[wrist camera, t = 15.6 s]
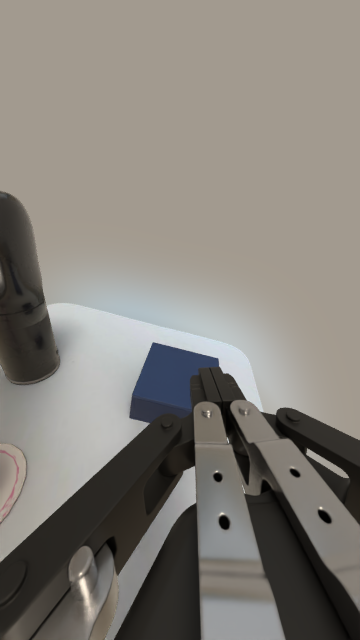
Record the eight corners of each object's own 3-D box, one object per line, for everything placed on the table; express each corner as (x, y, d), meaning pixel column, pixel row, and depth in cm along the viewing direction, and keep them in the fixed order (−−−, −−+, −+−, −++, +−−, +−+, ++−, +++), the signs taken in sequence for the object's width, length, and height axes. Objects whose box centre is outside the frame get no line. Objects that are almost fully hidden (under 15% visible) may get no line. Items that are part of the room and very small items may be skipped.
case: (148, 366, 46) (151, 346, 42) (208, 381, 46) (217, 363, 42) (129, 418, 34) (131, 397, 30) (209, 437, 35) (222, 419, 31)
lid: (152, 344, 42) (152, 342, 42) (217, 360, 43) (218, 358, 42) (131, 397, 30) (132, 394, 30) (222, 419, 31) (224, 417, 30)
